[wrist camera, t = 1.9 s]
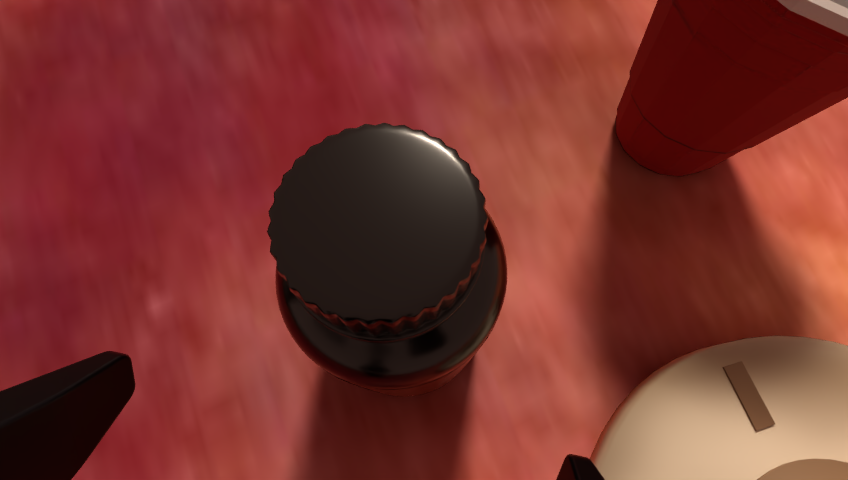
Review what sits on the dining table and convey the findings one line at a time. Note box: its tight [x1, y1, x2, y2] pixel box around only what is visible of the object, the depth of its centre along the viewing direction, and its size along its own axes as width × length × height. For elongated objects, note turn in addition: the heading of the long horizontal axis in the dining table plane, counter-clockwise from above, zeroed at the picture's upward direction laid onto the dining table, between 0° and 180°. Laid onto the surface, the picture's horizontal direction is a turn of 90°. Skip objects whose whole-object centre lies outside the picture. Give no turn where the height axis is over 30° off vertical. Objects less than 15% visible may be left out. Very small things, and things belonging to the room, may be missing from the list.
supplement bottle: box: [267, 123, 507, 397], centre depth 15 cm, size 7×7×12 cm
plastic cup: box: [616, 0, 848, 176], centre depth 19 cm, size 11×11×12 cm
